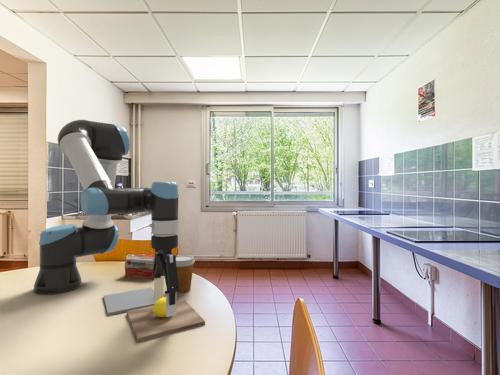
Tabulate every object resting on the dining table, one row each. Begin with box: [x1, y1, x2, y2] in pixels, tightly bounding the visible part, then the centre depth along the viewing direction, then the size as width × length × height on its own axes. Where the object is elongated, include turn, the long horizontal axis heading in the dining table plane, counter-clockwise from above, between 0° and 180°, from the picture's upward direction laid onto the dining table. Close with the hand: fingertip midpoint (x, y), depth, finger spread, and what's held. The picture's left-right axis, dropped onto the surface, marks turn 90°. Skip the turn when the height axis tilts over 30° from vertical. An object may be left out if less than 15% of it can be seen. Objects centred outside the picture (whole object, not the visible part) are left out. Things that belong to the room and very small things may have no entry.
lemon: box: [153, 296, 166, 317], centre depth 84 cm, size 7×5×5 cm
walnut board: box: [126, 299, 206, 343], centre depth 84 cm, size 18×18×1 cm
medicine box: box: [124, 253, 164, 279], centre depth 126 cm, size 15×8×8 cm, turn 79°
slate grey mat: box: [103, 287, 159, 316], centre depth 97 cm, size 16×16×1 cm
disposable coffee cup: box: [172, 254, 196, 293], centre depth 108 cm, size 10×10×12 cm
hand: (164, 306), depth 84 cm, fingers open, 13 cm apart
